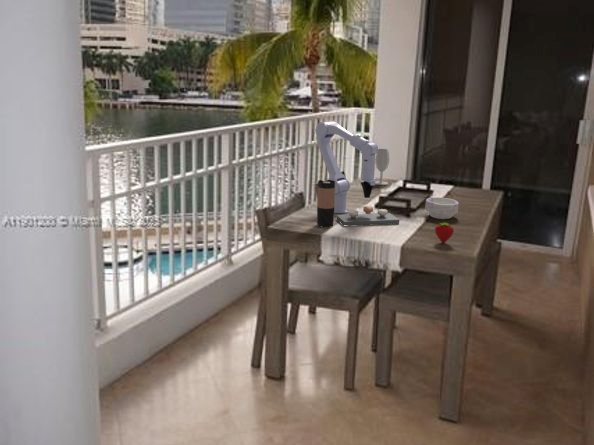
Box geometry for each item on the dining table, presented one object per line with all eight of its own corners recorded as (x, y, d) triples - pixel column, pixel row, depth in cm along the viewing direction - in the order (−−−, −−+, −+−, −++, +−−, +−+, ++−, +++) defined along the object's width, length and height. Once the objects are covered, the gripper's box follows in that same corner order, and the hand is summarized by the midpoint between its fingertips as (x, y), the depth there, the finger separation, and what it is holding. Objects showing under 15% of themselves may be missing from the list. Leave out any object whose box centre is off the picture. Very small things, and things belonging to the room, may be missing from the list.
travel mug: (328, 228, 255) (330, 183, 250) (313, 225, 259) (314, 181, 254) (336, 224, 262) (338, 181, 256) (322, 222, 265) (323, 179, 260)
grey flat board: (344, 226, 259) (344, 222, 259) (336, 219, 270) (336, 215, 270) (399, 223, 265) (399, 219, 264) (389, 217, 276) (389, 212, 276)
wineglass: (373, 185, 346) (375, 150, 340) (373, 182, 354) (375, 148, 349) (388, 186, 345) (390, 150, 339) (388, 183, 353) (390, 148, 347)
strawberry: (450, 246, 234) (452, 222, 231) (431, 243, 237) (433, 219, 235) (454, 242, 239) (456, 219, 236) (436, 239, 242) (438, 216, 240)
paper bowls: (462, 220, 273) (464, 204, 270) (431, 221, 270) (433, 204, 268) (449, 212, 287) (450, 196, 285) (420, 213, 285) (421, 197, 282)
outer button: (379, 217, 266) (379, 211, 265) (376, 215, 270) (376, 209, 269) (388, 217, 267) (388, 211, 266) (385, 214, 271) (385, 209, 270)
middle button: (365, 214, 264) (365, 209, 263) (361, 212, 268) (362, 206, 267) (374, 214, 265) (374, 208, 264) (370, 211, 269) (371, 206, 268)
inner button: (350, 218, 263) (350, 213, 262) (347, 216, 267) (347, 210, 266) (359, 218, 264) (359, 212, 263) (356, 215, 268) (356, 210, 267)
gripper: (382, 171, 263) (380, 200, 267) (371, 166, 277) (369, 193, 281) (367, 172, 262) (365, 201, 266) (357, 166, 276) (355, 194, 279)
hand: (366, 197), depth 273 cm, fingers closed
